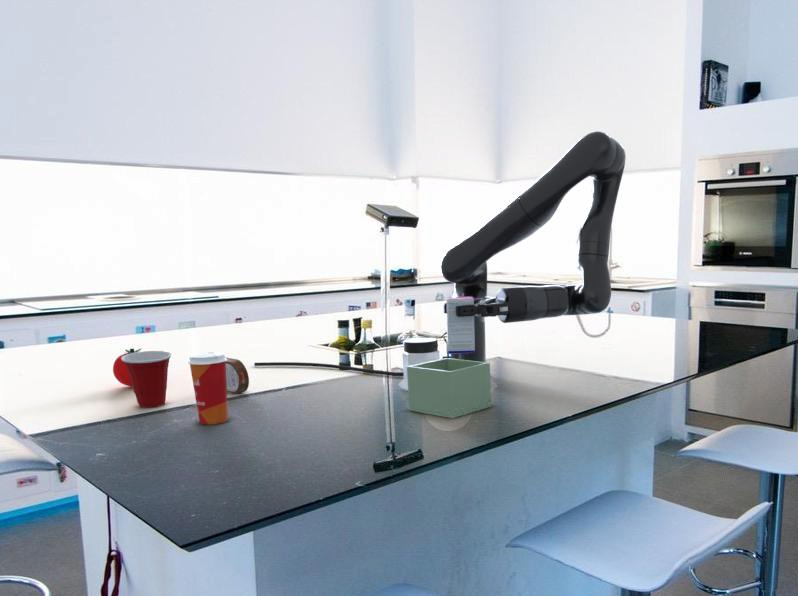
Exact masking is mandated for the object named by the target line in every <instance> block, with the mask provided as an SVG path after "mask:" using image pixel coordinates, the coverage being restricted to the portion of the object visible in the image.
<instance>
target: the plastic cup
mask: <svg viewBox="0 0 798 596" xmlns="http://www.w3.org/2000/svg"><path fill="white" fill-rule="evenodd" d="M171 357H172V353H171V352H170V351H164V350H143V351H139V352H136V353H131V354H127V355H125V356H122V358H121V360H122V361H123V362H124V364H125V366H126V369H127V371H128V374H129V377H130V380H131V384H132V386H131V387H132V390H133V394H134V395H135V398H136V402H137V404H138V406H139V408H155V407H161V406H164V405H166V401H167V400H166V399H167V389H168V374H169V373H168V372H169V363H170V358H171Z"/></svg>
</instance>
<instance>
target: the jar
mask: <svg viewBox="0 0 798 596" xmlns="http://www.w3.org/2000/svg"><path fill="white" fill-rule="evenodd" d="M402 344H403V350H402V370H403V371H402V373H404V376H403V389H404V390H405V391H407V392H408V379H407V366H412V365H416V364H421V363H426V362H430V361H435V360H440V359H441V358H440V351H439V350H438V347H439V343H438V338H433V337H414V338H408V339H407V338H406V339H404V340H403V341H402Z"/></svg>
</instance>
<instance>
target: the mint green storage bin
mask: <svg viewBox="0 0 798 596" xmlns="http://www.w3.org/2000/svg"><path fill="white" fill-rule="evenodd" d="M407 379H408V391H407V395H408V399H407V400H408V411H410V412H415V413H419V414H420V413H421V414H427V415H433V416H437V417H444V418H447V419H448V418H449V419H454V418H458V417H461V416H465V415H467V414H470V413H475V412H478V411H481V410H485V409H488V408H491V407H492V397H491V396H492V395H491V394H492V393H491V391H492V390H491V363H490V362H487V361H486V362H478V361H469V360H460V359H451V358H444V359H443V358H440V360H435V361H430V362H426V363H421V364H416V365H412V366H407Z"/></svg>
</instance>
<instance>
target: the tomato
mask: <svg viewBox="0 0 798 596" xmlns="http://www.w3.org/2000/svg"><path fill="white" fill-rule="evenodd" d="M142 349H143V348H142V347H141V348H138V349H136V350H135V348H129V349H124V350H125V351H124V352H123V354H119V356H117V358H116V359H115V360H114V362H113V365H112V366H113V367H112V373H113V376H114V377H115V379H116V380H117V381H118V382H119V383H120V384H122V385H124V386H127V387H132V384H131V380H130V377H129V374H128V371H127V369H126V366H125V364H124V362H123V361H122V360H121V358H122V356H125V355H127V354H131V353H136V352H141V350H142Z"/></svg>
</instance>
